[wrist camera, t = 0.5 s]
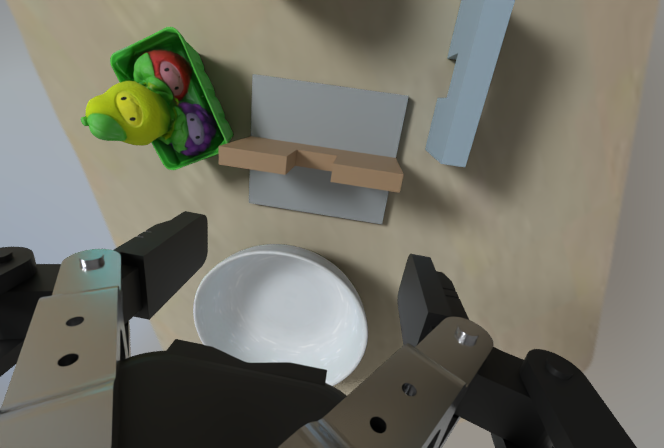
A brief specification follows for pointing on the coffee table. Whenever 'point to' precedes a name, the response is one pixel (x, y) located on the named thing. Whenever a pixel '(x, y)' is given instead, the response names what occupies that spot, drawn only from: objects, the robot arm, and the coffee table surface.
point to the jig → (321, 148)
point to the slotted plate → (468, 78)
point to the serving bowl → (282, 310)
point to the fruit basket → (161, 102)
